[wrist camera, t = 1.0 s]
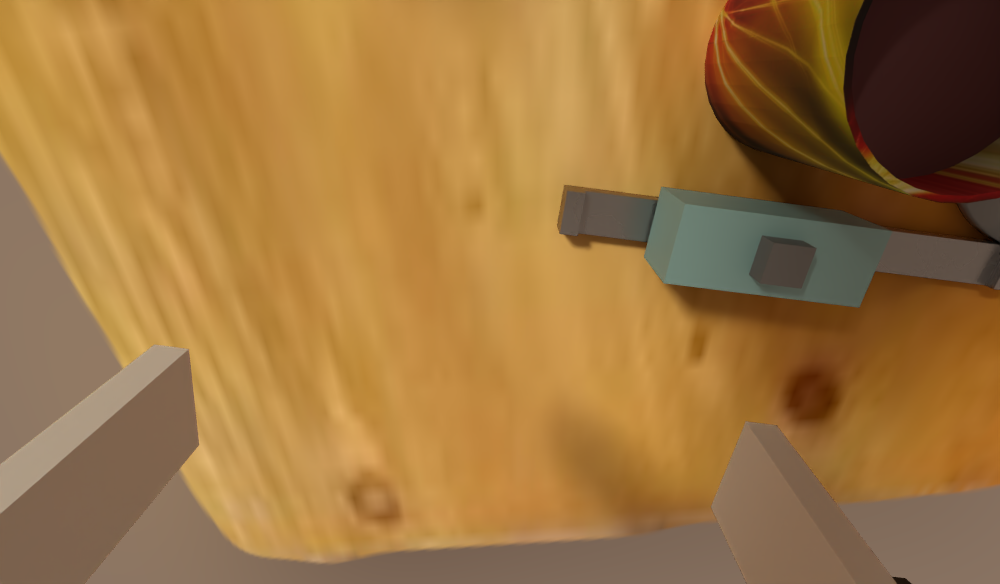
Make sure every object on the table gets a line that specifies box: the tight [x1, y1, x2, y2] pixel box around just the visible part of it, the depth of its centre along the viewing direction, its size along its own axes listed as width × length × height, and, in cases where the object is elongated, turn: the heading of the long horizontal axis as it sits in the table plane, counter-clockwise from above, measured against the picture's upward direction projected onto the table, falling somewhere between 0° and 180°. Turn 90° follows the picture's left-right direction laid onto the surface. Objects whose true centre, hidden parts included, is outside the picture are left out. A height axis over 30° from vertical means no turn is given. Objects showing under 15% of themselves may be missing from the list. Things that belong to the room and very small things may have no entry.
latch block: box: [644, 187, 892, 308], centre depth 26 cm, size 4×10×5 cm, turn 83°
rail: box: [557, 185, 1000, 290], centre depth 29 cm, size 2×26×2 cm, turn 83°
